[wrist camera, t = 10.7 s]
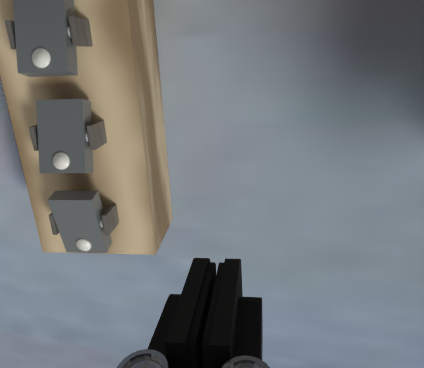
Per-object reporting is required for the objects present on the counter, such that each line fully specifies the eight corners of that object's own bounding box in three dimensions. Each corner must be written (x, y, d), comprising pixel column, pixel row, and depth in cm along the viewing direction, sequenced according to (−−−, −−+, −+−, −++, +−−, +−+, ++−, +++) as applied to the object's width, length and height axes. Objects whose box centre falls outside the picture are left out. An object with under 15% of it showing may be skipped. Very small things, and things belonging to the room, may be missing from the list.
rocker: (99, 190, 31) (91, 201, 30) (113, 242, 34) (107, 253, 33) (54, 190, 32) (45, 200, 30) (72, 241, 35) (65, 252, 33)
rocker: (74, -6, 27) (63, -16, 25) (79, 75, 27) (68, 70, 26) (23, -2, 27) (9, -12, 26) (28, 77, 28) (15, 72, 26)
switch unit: (151, -16, 34) (110, -43, 24) (172, 219, 42) (148, 269, 33) (30, -8, 35) (-56, -31, 25) (75, 218, 44) (23, 266, 34)
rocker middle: (92, 101, 30) (82, 98, 28) (94, 172, 30) (85, 173, 29) (45, 102, 30) (33, 99, 29) (48, 172, 31) (37, 173, 29)
